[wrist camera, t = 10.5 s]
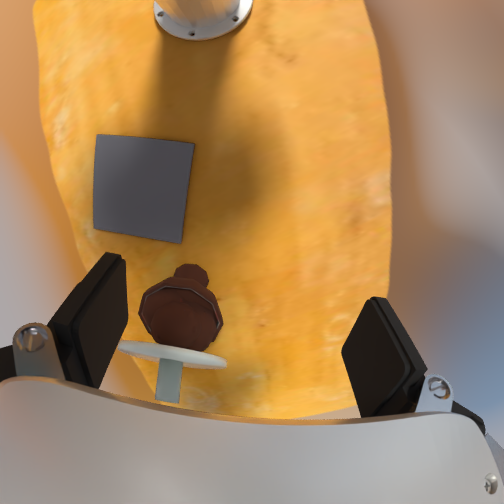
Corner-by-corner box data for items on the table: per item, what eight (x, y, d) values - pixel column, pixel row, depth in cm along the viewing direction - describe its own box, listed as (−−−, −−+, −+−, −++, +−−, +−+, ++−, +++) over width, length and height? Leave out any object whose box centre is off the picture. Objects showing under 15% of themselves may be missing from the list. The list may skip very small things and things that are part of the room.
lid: (105, 333, 25) (96, 388, 22) (234, 354, 27) (229, 412, 24) (130, 351, 36) (125, 390, 33) (221, 366, 38) (218, 405, 35)
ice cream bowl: (143, 268, 42) (107, 333, 29) (201, 234, 40) (180, 298, 26) (183, 316, 46) (165, 387, 33) (240, 289, 44) (238, 363, 31)
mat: (98, 134, 32) (96, 134, 32) (194, 143, 34) (194, 144, 33) (95, 226, 39) (93, 228, 38) (181, 241, 40) (180, 243, 40)
